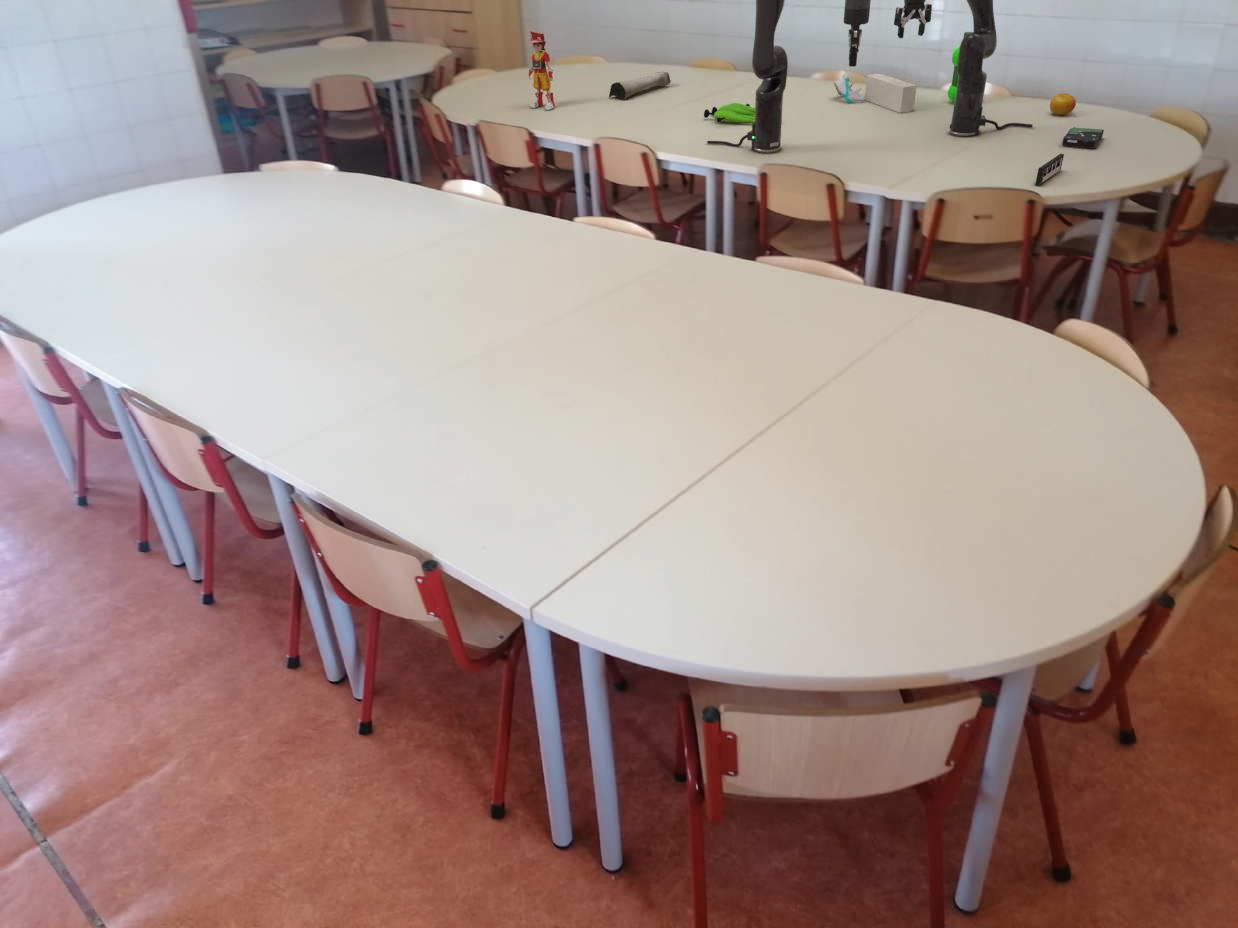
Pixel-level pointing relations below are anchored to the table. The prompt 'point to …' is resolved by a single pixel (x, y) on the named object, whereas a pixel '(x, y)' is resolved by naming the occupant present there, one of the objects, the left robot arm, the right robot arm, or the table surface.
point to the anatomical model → (847, 90)
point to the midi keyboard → (1049, 169)
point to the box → (890, 93)
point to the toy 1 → (541, 71)
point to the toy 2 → (733, 113)
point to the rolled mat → (638, 84)
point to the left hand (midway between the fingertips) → (852, 63)
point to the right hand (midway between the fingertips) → (910, 37)
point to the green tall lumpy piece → (955, 74)
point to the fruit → (1062, 104)
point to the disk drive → (1083, 137)
